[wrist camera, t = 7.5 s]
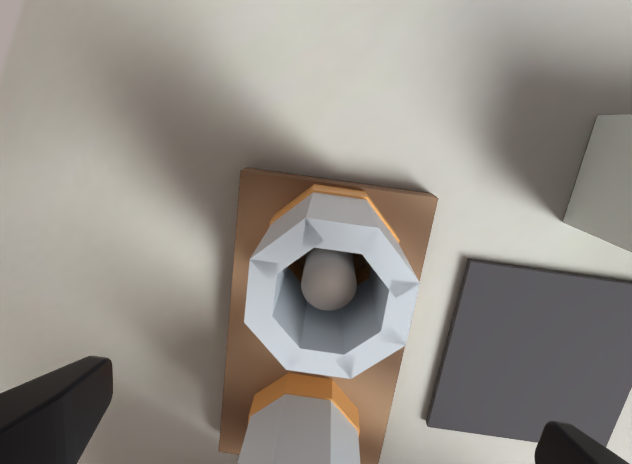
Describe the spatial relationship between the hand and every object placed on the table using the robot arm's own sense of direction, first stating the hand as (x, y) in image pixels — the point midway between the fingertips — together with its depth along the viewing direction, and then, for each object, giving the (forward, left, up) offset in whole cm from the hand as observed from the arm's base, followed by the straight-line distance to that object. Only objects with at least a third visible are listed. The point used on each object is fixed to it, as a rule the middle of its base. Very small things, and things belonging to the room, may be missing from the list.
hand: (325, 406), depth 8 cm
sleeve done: (-10, 0, -11) cm, 15 cm away
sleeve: (0, 0, -11) cm, 11 cm away
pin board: (-5, 0, -12) cm, 13 cm away
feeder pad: (-5, -12, -12) cm, 18 cm away
